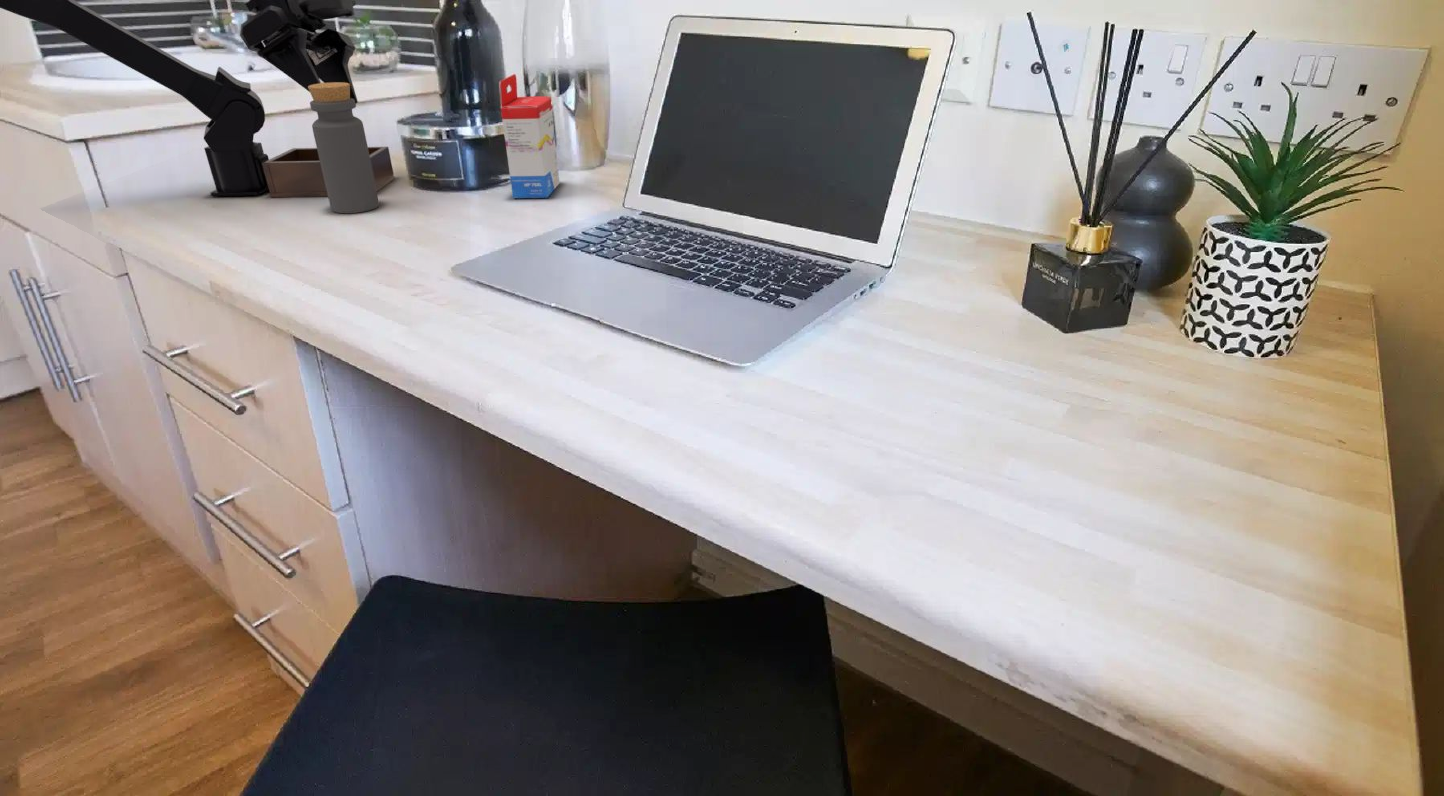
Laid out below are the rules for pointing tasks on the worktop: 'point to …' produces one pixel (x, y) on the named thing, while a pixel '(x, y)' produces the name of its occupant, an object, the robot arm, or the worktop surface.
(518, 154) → the ink box
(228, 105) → the robot arm
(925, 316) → the worktop surface
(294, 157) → the crate
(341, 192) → the bottle
